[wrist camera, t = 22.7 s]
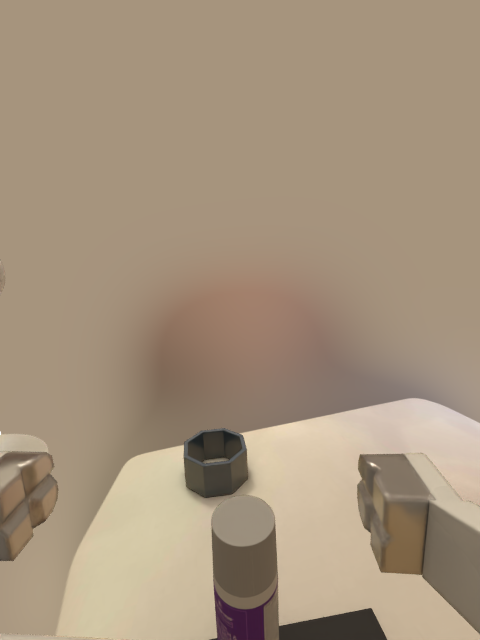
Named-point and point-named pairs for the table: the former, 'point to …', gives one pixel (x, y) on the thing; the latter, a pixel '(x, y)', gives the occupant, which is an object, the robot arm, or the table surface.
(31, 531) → the robot arm
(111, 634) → the table surface
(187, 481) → the octagonal ring
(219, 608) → the container
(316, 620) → the mat
